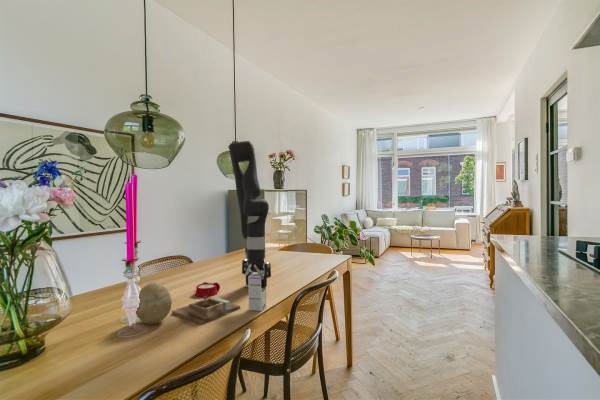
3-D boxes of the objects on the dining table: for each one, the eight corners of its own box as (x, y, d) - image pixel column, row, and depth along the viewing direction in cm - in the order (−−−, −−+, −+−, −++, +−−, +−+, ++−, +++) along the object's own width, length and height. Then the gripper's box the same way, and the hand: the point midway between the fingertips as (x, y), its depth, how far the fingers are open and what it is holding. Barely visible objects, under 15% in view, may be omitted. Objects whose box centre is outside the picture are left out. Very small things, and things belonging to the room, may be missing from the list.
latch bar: (213, 304, 140) (213, 296, 140) (230, 308, 135) (230, 301, 134) (209, 305, 138) (209, 298, 138) (225, 310, 133) (225, 302, 132)
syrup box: (262, 311, 135) (261, 276, 135) (248, 310, 137) (248, 275, 136) (266, 306, 141) (266, 272, 141) (253, 305, 142) (252, 272, 142)
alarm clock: (190, 290, 154) (202, 275, 168) (191, 302, 155) (203, 286, 170) (211, 290, 153) (222, 275, 167) (213, 302, 154) (223, 286, 169)
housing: (211, 300, 149) (211, 289, 149) (240, 308, 139) (240, 297, 139) (171, 313, 133) (171, 302, 133) (201, 324, 123) (200, 311, 123)
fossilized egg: (177, 322, 124) (177, 282, 124) (142, 332, 116) (141, 289, 115) (163, 313, 134) (163, 276, 133) (129, 322, 125) (129, 282, 124)
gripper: (237, 246, 139) (237, 285, 139) (262, 250, 131) (262, 291, 131) (250, 244, 145) (250, 281, 145) (275, 247, 137) (275, 287, 137)
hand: (256, 286), depth 138 cm, fingers open, 8 cm apart
